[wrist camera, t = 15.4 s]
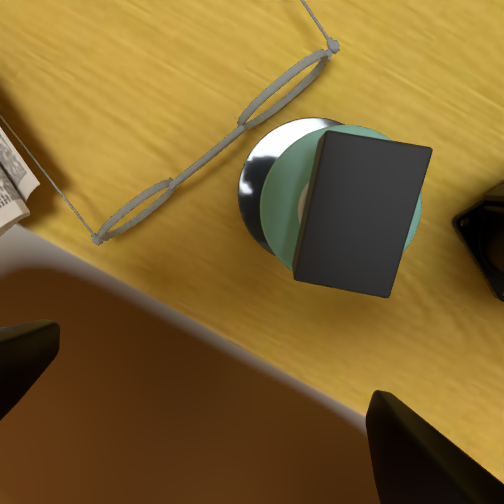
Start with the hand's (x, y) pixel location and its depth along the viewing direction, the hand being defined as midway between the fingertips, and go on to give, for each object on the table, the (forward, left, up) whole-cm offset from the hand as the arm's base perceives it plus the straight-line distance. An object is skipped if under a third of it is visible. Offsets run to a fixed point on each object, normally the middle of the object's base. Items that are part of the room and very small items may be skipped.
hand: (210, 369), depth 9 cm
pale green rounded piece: (-2, -2, -11) cm, 11 cm away
